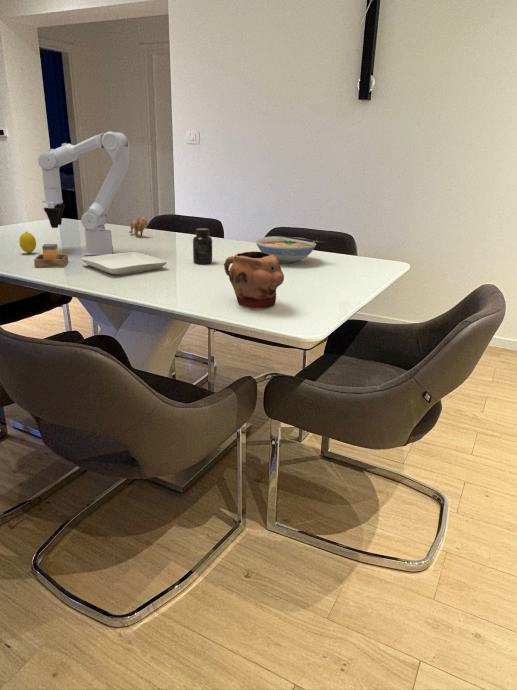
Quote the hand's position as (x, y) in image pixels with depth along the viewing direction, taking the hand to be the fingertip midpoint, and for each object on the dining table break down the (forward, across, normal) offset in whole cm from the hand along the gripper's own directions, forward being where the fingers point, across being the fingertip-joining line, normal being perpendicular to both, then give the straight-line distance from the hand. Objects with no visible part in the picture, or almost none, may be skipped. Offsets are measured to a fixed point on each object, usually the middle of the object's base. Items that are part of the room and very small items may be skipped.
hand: (56, 226), depth 190 cm
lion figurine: (+10, -35, +28) cm, 46 cm away
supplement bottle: (+10, +21, +52) cm, 57 cm away
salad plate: (+10, +28, +25) cm, 39 cm away
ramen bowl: (+10, +19, +83) cm, 86 cm away
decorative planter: (+10, +73, +60) cm, 95 cm away
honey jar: (+9, +22, +1) cm, 24 cm away
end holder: (+9, +22, +1) cm, 24 cm away
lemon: (+10, +4, -10) cm, 14 cm away
